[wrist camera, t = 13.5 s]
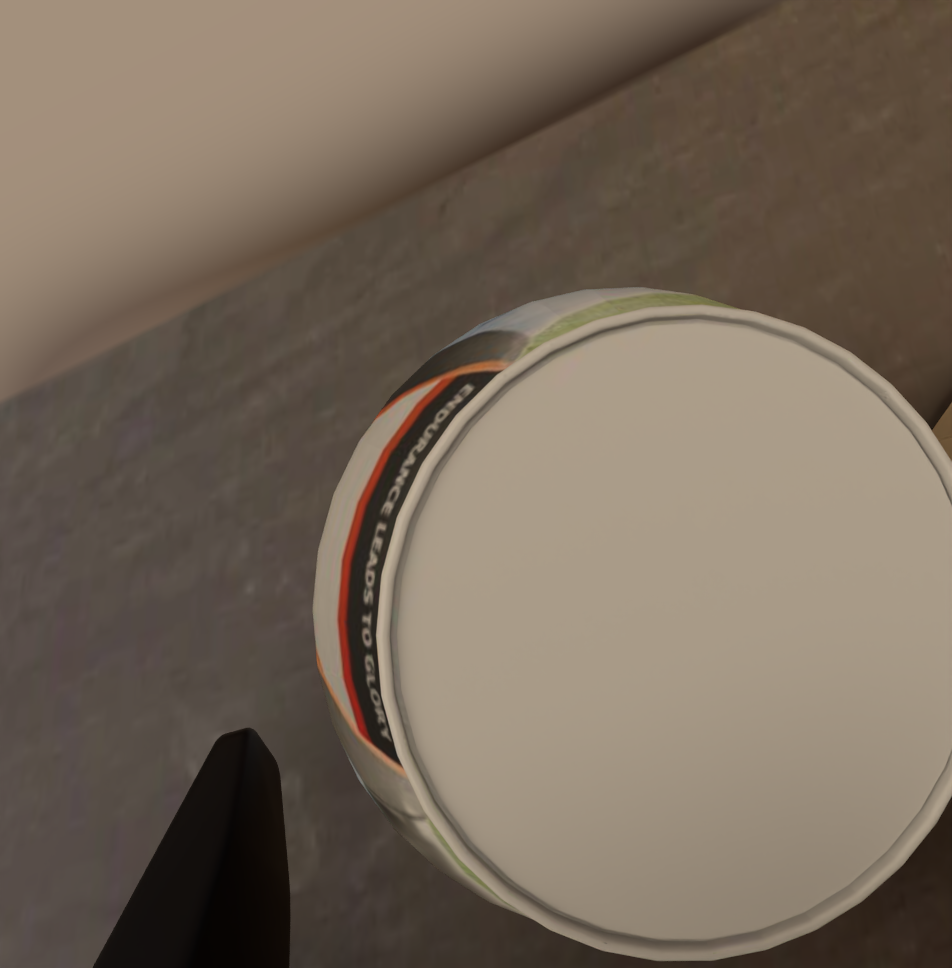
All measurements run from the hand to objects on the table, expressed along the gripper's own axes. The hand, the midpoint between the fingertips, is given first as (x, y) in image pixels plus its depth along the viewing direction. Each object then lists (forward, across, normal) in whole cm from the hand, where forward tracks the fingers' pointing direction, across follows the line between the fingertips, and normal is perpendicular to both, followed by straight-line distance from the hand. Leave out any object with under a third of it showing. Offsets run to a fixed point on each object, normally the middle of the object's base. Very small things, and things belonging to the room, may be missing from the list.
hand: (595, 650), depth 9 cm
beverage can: (+6, 0, +5) cm, 8 cm away
